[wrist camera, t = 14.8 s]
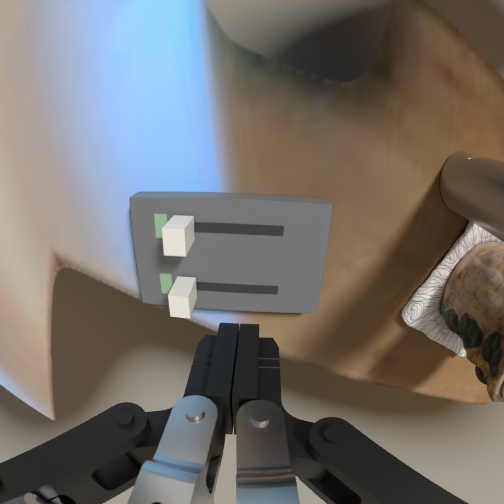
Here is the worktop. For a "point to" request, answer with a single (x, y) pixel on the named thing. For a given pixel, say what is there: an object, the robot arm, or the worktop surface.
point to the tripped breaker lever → (182, 297)
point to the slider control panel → (235, 249)
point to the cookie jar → (467, 305)
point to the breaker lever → (178, 235)
